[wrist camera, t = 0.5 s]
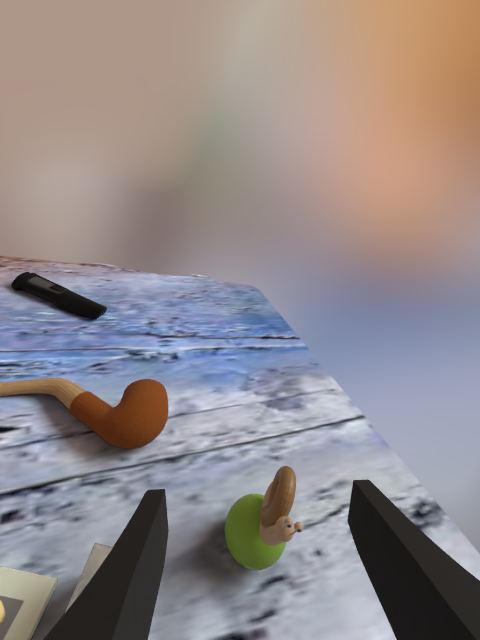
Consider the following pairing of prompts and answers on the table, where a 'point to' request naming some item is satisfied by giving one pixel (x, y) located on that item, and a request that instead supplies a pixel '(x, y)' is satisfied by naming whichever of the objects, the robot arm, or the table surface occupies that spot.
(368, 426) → the table surface
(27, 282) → the electric trimmer
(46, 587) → the board
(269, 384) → the table surface
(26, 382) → the smoking pipe
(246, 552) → the snail figurine
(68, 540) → the table surface
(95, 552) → the plug block
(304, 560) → the table surface
